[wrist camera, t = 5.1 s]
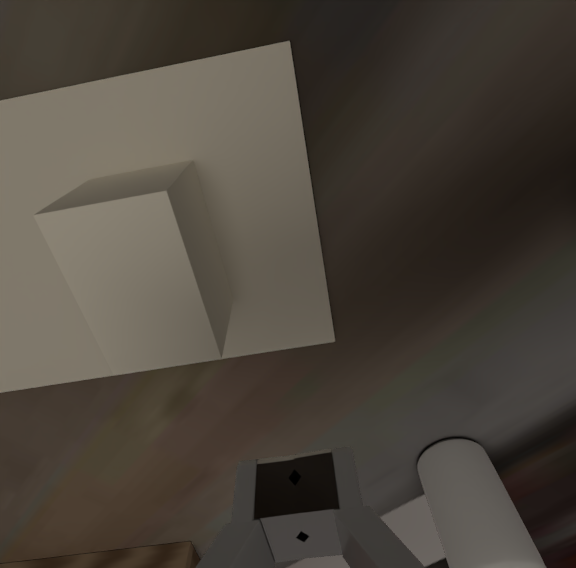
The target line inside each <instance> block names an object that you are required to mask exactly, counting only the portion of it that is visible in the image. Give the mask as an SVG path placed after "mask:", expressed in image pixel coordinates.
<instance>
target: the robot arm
mask: <svg viewBox="0 0 576 568" xmlns="http://www.w3.org/2000/svg"><path fill="white" fill-rule="evenodd" d="M335 555H343V558H344V559H345V560H346V562H347V563H348V565H349V566H350V568H425V567H424V566H423V565H422V563H421V562H420V561H419V560H418V559H417V558H416V557H415V556H414V555H413V554H412V552H411V551H410V550H409V549H408V548H407V547H406V546H405V545H404V544H403V543H402V541H401V540H400V539H399V538H398V537H397V536H396V535H395V534H394V533H393V532H392V531H391V530H390V529H389V527H388V526H387V525H386V524H385V523H384V522H383V521H382V520H381V518H380V517H379V516H378V515H377V514H376V513H375V512H374V511H373V510H372V509H371V507H370V506H363V503H362V498H361V493H360V487H359V482H358V477H357V472H356V466H355V461H354V456H353V450H352V448H351V446H350V447H343V448H336V449H326V450H319V451H312V452H306V453H299V454H295V455H291V456H282V457H272V458H263V459H255V460H247V461H239V463H238V466H237V471H236V481H235V490H234V500H233V509H232V519H231V523H229V524H225V525H224V527H223V528H222V530H221V531H220V533H219V534H218V536H217V537H216V538H215V540H214V541H213V543H212V544H211V546H210V547H209V549H208V550H207V552H206V553H205V554H204V556H203V557H202V559H201V560H200V562H199V563H198V565H197V566H196V568H274V567H275V563H278V562H284V561H291V560H297V559H304V558H312V557H324V556H335Z"/></svg>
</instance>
